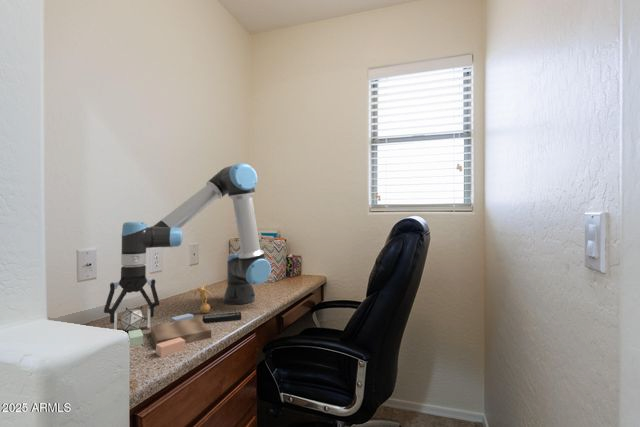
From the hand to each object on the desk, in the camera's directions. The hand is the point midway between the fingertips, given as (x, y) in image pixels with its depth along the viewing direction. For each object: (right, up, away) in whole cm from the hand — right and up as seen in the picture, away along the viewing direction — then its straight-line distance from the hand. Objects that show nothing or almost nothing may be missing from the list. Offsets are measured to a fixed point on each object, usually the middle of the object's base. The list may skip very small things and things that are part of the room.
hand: (132, 329), depth 108 cm
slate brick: (+14, -1, +8) cm, 16 cm away
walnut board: (+19, -1, -4) cm, 19 cm away
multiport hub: (+28, -2, +12) cm, 30 cm away
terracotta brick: (+22, -1, -16) cm, 27 cm away
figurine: (+18, -1, +20) cm, 27 cm away
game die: (0, -1, 0) cm, 1 cm away
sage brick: (+7, -1, -10) cm, 12 cm away
